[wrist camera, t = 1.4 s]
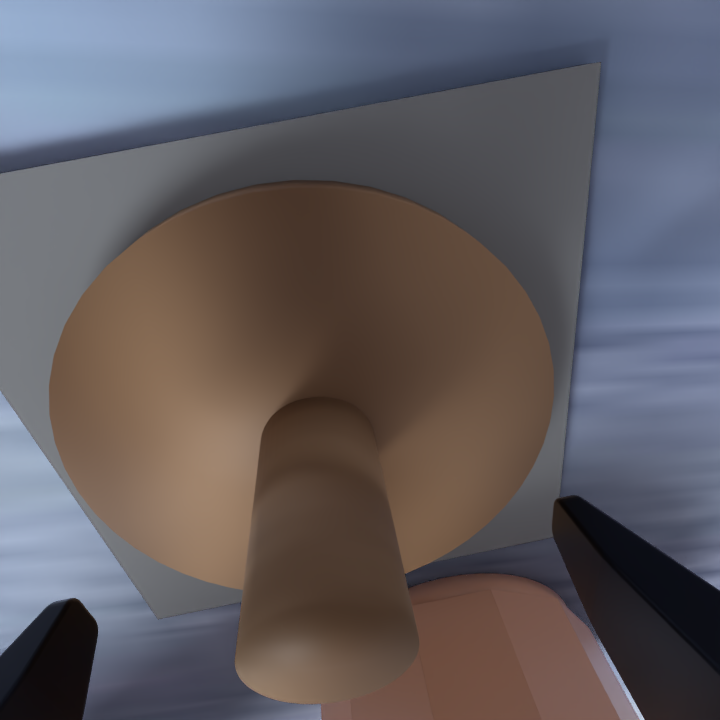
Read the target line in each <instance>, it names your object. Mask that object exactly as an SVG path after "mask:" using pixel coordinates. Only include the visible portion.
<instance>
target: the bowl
mask: <svg viewBox="0 0 720 720" xmlns="http://www.w3.org/2000/svg"><path fill="white" fill-rule="evenodd" d="M408 590H409V595H410V599H411V604H412V608H413V613H414V617H415V622H416V626H417V631H418V636H419V650H418V654H417V656H416V658H415V660H414V662H413V663H412V665H411V666H410V667H409V668H408V669H407V670H406V671H405V672H404V673H403V674H402V675H401V676H400V677H398V678H397V679H396V680H394V681H393V682H391V683H390V684H388V685H386V686H385V687H382V688H380V689H378V690H376V691H374V692H371V693H369V694H366V695H363V696H360V697H357V698H353V699H349V700H345V701H340V702H334V703H325V704H321V716H322V720H639V718H638V716H637V714H636V712H635V711H634V709H633V707H632V705H631V703H630V701H629V700H628V698H627V696H626V694H625V692H624V691H623V689H622V687H621V685H620V683H619V681H618V680H617V678H616V676H615V674H614V672H613V671H612V669H611V667H610V665H609V663H608V661H607V660H606V658H605V656H604V654H603V652H602V651H601V649H600V647H599V645H598V643H597V641H596V640H595V638H594V636H593V634H592V632H591V631H590V629H589V627H588V626H586V625H585V624H584V623H583V622H582V621H581V620H580V619H579V618H578V617H577V616H576V615H575V614H574V613H572V612H571V611H570V610H569V609H568V608H567V606H566V604H565V602H564V601H563V600H562V599H561V597H560V596H559V595H558V594H557V593H556V592H554V591H553V590H552V589H550V588H549V587H547V586H545V585H543V584H541V583H539V582H536V581H534V580H531V579H528V578H524V577H519V576H514V575H507V574H497V573H477V574H466V575H457V576H452V577H446V578H441V579H437V580H433V581H429V582H425V583H422V584H419V585H416V586H413V587H410V588H408Z"/></svg>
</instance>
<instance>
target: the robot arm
mask: <svg viewBox="0 0 720 720" xmlns="http://www.w3.org/2000/svg"><path fill="white" fill-rule="evenodd" d="M552 533H553V537H554V540H555V542H556V544H557V547H558V549H559V551H560V554H561V556H562V558H563V561H564V563H565V565H566V567H567V570H568V572H569V574H570V577H571V579H572V581H573V583H574V586H575V588H576V590H577V593H578V595H579V597H580V600H581V602H582V604H583V606H584V609H585V611H586V613H587V615H588V617H589V620H590V622H591V624H592V625H593V627H594V629H595V631H596V633H597V635H598V637H599V639H600V640H601V642H602V644H603V646H604V647H605V649H606V651H607V653H608V655H609V656H610V658H611V660H612V662H613V664H614V665H615V667H616V669H617V671H618V673H619V674H620V676H621V678H622V680H623V681H624V683H625V685H626V687H627V689H628V690H629V692H630V694H631V696H632V698H633V699H634V701H635V703H636V705H637V707H638V708H639V710H640V712H641V714H642V715H643V717H644V719H645V720H720V590H718V589H717V588H715V587H714V586H712V585H711V584H709V583H708V582H706V581H705V580H703V579H702V578H700V577H699V576H697V575H696V574H694V573H693V572H691V571H690V570H688V569H687V568H685V567H684V566H683V565H681V564H680V563H678V562H677V561H675V560H674V559H672V558H671V557H669V556H668V555H666V554H665V553H663V552H662V551H660V550H659V549H657V548H656V547H654V546H653V545H651V544H650V543H648V542H647V541H645V540H644V539H642V538H641V537H639V536H638V535H636V534H635V533H633V532H632V531H631V530H629V529H628V528H626V527H625V526H623V525H622V524H620V523H619V522H617V521H616V520H614V519H613V518H611V517H610V516H608V515H607V514H605V513H604V512H602V511H601V510H599V509H598V508H596V507H595V506H593V505H592V504H590V503H589V502H587V501H586V500H584V499H583V498H581V497H579V496H577V495H571V496H566V497H561V498H557V499H556V500H555V501H554V506H553V517H552ZM97 638H98V625H97V622H96V620H95V619H94V618H93V616H92V615H91V614H90V613H89V611H88V610H87V609H86V608H85V607H84V605H83V604H82V603H81V602H80V601H79V600H78V599H76V598H70V599H65V600H60V601H56V602H53V603H51V604H50V605H49V606H47V607H46V608H45V609H44V610H43V611H42V612H41V613H40V614H39V616H38V617H37V618H36V619H35V620H34V621H33V622H32V623H31V624H30V625H29V626H28V627H27V628H26V629H25V630H24V631H23V632H22V633H21V635H20V636H19V637H18V638H17V639H16V640H15V641H14V642H13V643H12V644H11V645H10V646H9V647H8V648H7V649H6V650H5V651H4V652H3V654H2V655H1V656H0V720H82V719H83V714H84V709H85V704H86V698H87V693H88V687H89V682H90V676H91V671H92V665H93V660H94V654H95V649H96V643H97Z"/></svg>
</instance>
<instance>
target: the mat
mask: <svg viewBox="0 0 720 720" xmlns="http://www.w3.org/2000/svg"><path fill="white" fill-rule="evenodd" d="M600 69H601V62H597V63H589V64H584V65H579V66H573V67H568V68H563V69H557V70H552V71H546V72H541V73H536V74H530V75H525V76H520V77H514V78H509V79H503V80H498V81H493V82H487V83H482V84H477V85H471V86H466V87H461V88H455V89H450V90H444V91H439V92H434V93H428V94H423V95H418V96H412V97H407V98H402V99H396V100H391V101H385V102H380V103H375V104H369V105H364V106H359V107H353V108H348V109H342V110H337V111H332V112H326V113H321V114H316V115H310V116H305V117H300V118H294V119H289V120H283V121H278V122H273V123H267V124H262V125H257V126H251V127H246V128H240V129H235V130H230V131H224V132H219V133H214V134H208V135H203V136H198V137H192V138H187V139H181V140H176V141H171V142H165V143H160V144H155V145H149V146H144V147H138V148H133V149H128V150H122V151H117V152H112V153H106V154H101V155H96V156H90V157H85V158H79V159H74V160H69V161H63V162H58V163H53V164H47V165H42V166H36V167H31V168H26V169H20V170H15V171H10V172H4V173H0V391H1V392H2V394H3V395H4V396H5V398H6V399H7V401H8V402H9V404H10V405H11V407H12V408H13V410H14V411H15V412H16V414H17V415H18V417H19V418H20V420H21V421H22V423H23V424H24V425H25V427H26V428H27V430H28V431H29V433H30V434H31V436H32V437H33V439H34V440H35V441H36V443H37V444H38V446H39V447H40V449H41V450H42V452H43V453H44V455H45V456H46V457H47V459H48V460H49V462H50V463H51V465H52V466H53V468H54V469H55V471H56V472H57V473H58V475H59V476H60V478H61V479H62V481H63V482H64V484H65V485H66V486H67V488H68V489H69V491H70V492H71V494H72V495H73V497H74V498H75V500H76V501H77V502H78V504H79V505H80V507H81V508H82V510H83V511H84V513H85V514H86V516H87V517H88V518H89V520H90V521H91V523H92V524H93V526H94V527H95V529H96V530H97V532H98V533H99V534H100V536H101V537H102V539H103V540H104V542H105V543H106V545H107V546H108V548H109V549H110V550H111V552H112V553H113V555H114V556H115V558H116V559H117V561H118V562H119V563H120V565H121V566H122V568H123V569H124V571H125V572H126V574H127V575H128V577H129V578H130V579H131V581H132V582H133V584H134V585H135V587H136V588H137V590H138V591H139V593H140V594H141V595H142V597H143V598H144V600H145V601H146V603H147V604H148V606H149V607H150V609H151V610H152V611H153V613H154V614H155V616H156V617H157V619H162V618H167V617H172V616H177V615H182V614H186V613H191V612H196V611H201V610H206V609H210V608H215V607H220V606H225V605H230V604H235V603H239V602H242V594H243V590H240V589H234V588H229V587H225V586H221V585H218V584H214V583H210V582H206V581H203V580H200V579H197V578H195V577H192V576H189V575H186V574H183V573H181V572H179V571H176V570H174V569H172V568H170V567H168V566H166V565H164V564H161V563H159V562H157V561H156V560H154V559H152V558H151V557H149V556H147V555H146V554H144V553H142V552H141V551H139V550H137V549H136V548H134V547H133V546H132V545H130V544H129V543H128V542H126V541H125V540H124V539H122V538H121V537H120V536H118V535H117V534H116V533H115V532H113V531H112V530H111V529H110V528H109V527H108V526H107V525H106V524H105V523H104V522H103V521H102V520H101V519H100V518H99V517H98V516H97V515H96V514H95V513H94V512H93V510H92V509H91V508H90V507H89V505H88V504H87V503H86V501H85V500H84V499H83V498H82V496H81V495H80V494H79V492H78V491H77V489H76V487H75V486H74V484H73V482H72V480H71V479H70V477H69V475H68V473H67V472H66V470H65V468H64V465H63V463H62V460H61V457H60V455H59V452H58V449H57V447H56V444H55V441H54V436H53V430H52V425H51V420H50V415H49V381H50V375H51V369H52V363H53V357H54V353H55V351H56V348H57V345H58V342H59V339H60V337H61V334H62V331H63V328H64V326H65V324H66V322H67V320H68V318H69V317H70V315H71V313H72V311H73V310H74V308H75V306H76V305H77V303H78V301H79V299H80V298H81V296H82V294H83V293H84V292H85V291H86V290H87V288H88V287H89V286H90V285H91V284H92V283H93V281H94V280H95V279H96V278H97V277H98V275H99V274H100V273H101V272H102V271H103V269H104V268H105V267H106V266H107V265H108V264H110V263H111V262H112V261H113V260H114V259H115V258H117V257H118V256H119V255H120V254H121V253H122V252H124V251H125V250H126V249H127V248H128V247H129V246H131V245H132V244H133V243H134V242H135V241H137V240H138V239H139V238H140V237H141V236H142V235H144V234H145V233H146V232H147V231H148V230H150V229H151V228H153V227H154V226H156V225H158V224H159V223H161V222H163V221H164V220H166V219H167V218H169V217H171V216H172V215H174V214H175V213H177V212H179V211H180V210H182V209H185V208H187V207H189V206H192V205H194V204H196V203H199V202H201V201H203V200H206V199H208V198H210V197H213V196H215V195H218V194H221V193H225V192H229V191H233V190H236V189H240V188H244V187H248V186H251V185H256V184H264V183H273V182H281V181H289V180H321V181H338V182H344V183H350V184H356V185H363V186H369V187H373V188H376V189H380V190H383V191H386V192H389V193H393V194H396V195H399V196H402V197H405V198H408V199H410V200H412V201H414V202H416V203H418V204H420V205H423V206H425V207H427V208H429V209H431V210H433V211H435V212H437V213H439V214H440V215H442V216H443V217H445V218H446V219H448V220H449V221H451V222H452V223H454V224H455V225H457V226H458V227H460V228H461V229H463V230H464V231H466V232H467V233H468V234H470V235H471V236H472V237H473V238H475V239H476V240H477V241H479V242H480V243H481V244H482V245H483V246H484V247H485V248H487V249H488V250H489V251H490V252H491V253H492V254H493V255H494V256H495V257H496V258H497V259H499V260H500V261H501V262H502V263H503V264H504V265H505V266H506V267H507V268H508V270H509V271H510V272H511V273H512V275H513V276H514V277H515V278H516V280H517V281H518V282H519V284H520V285H521V286H522V287H523V289H524V290H525V291H526V293H527V295H528V297H529V298H530V300H531V302H532V304H533V306H534V308H535V309H536V311H537V313H538V315H539V317H540V319H541V322H542V325H543V328H544V331H545V333H546V336H547V339H548V342H549V346H550V352H551V358H552V363H553V369H554V399H553V406H552V413H551V420H550V424H549V427H548V430H547V434H546V437H545V440H544V444H543V446H542V448H541V451H540V453H539V455H538V457H537V459H536V462H535V464H534V466H533V468H532V469H531V471H530V473H529V474H528V476H527V477H526V479H525V481H524V482H523V484H522V486H521V487H520V488H519V490H518V491H517V492H516V493H515V495H514V496H513V497H512V499H511V500H510V501H509V502H508V504H507V505H506V506H505V507H504V508H503V509H502V510H501V511H500V512H499V513H498V514H497V515H496V516H495V517H494V518H493V519H492V520H491V521H490V522H489V523H488V524H487V525H486V526H484V527H483V528H482V529H481V530H480V531H478V532H477V533H476V534H475V535H473V536H472V537H471V538H470V539H468V540H467V541H465V542H464V543H462V544H461V545H459V546H458V547H456V548H455V549H453V550H452V551H450V552H449V553H447V554H445V555H443V556H442V557H440V558H438V559H436V560H434V561H432V562H437V561H442V560H446V559H451V558H456V557H461V556H466V555H471V554H475V553H480V552H485V551H490V550H495V549H499V548H504V547H509V546H514V545H519V544H523V543H528V542H533V541H538V540H543V539H548V538H552V537H553V533H552V517H553V506H554V501H555V500H556V499H557V498H560V487H561V477H562V467H563V456H564V446H565V435H566V425H567V414H568V404H569V393H570V383H571V372H572V362H573V351H574V341H575V330H576V320H577V309H578V299H579V289H580V278H581V268H582V257H583V247H584V236H585V226H586V215H587V205H588V194H589V184H590V173H591V163H592V152H593V142H594V132H595V121H596V111H597V100H598V90H599V79H600ZM432 562H431V563H432Z"/></svg>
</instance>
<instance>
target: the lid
mask: <svg viewBox="0 0 720 720" xmlns="http://www.w3.org/2000/svg"><path fill="white" fill-rule="evenodd" d="M553 399H554V369H553V363H552V358H551V352H550V346H549V342H548V339H547V336H546V333H545V331H544V328H543V325H542V322H541V319H540V317H539V315H538V313H537V311H536V309H535V308H534V306H533V304H532V302H531V300H530V298H529V297H528V295H527V293H526V291H525V290H524V289H523V287H522V286H521V285H520V284H519V282H518V281H517V280H516V278H515V277H514V276H513V275H512V273H511V272H510V271H509V270H508V268H507V267H506V266H505V265H504V264H503V263H502V262H501V261H500V260H499V259H497V258H496V257H495V256H494V255H493V254H492V253H491V252H490V251H489V250H488V249H487V248H485V247H484V246H483V245H482V244H481V243H480V242H479V241H477V240H476V239H475V238H473V237H472V236H471V235H470V234H468V233H467V232H466V231H464V230H463V229H461V228H460V227H458V226H457V225H455V224H454V223H452V222H451V221H449V220H448V219H446V218H445V217H443V216H442V215H440V214H439V213H437V212H435V211H433V210H431V209H429V208H427V207H425V206H423V205H420V204H418V203H416V202H414V201H412V200H410V199H408V198H405V197H402V196H399V195H396V194H393V193H389V192H386V191H383V190H380V189H376V188H373V187H369V186H363V185H356V184H350V183H344V182H338V181H321V180H289V181H281V182H273V183H264V184H256V185H251V186H248V187H244V188H240V189H236V190H233V191H229V192H225V193H221V194H218V195H215V196H213V197H210V198H208V199H206V200H203V201H201V202H199V203H196V204H194V205H192V206H189V207H187V208H185V209H182V210H180V211H179V212H177V213H175V214H174V215H172V216H171V217H169V218H167V219H166V220H164V221H163V222H161V223H159V224H158V225H156V226H154V227H153V228H151V229H150V230H148V231H147V232H146V233H145V234H144V235H142V236H141V237H140V238H139V239H138V240H137V241H135V242H134V243H133V244H132V245H131V246H129V247H128V248H127V249H126V250H125V251H124V252H122V253H121V254H120V255H119V256H118V257H117V258H115V259H114V260H113V261H112V262H111V263H110V264H108V265H107V266H106V267H105V268H104V269H103V271H102V272H101V273H100V274H99V275H98V277H97V278H96V279H95V280H94V281H93V283H92V284H91V285H90V286H89V287H88V288H87V290H86V291H85V292H84V293H83V294H82V296H81V298H80V299H79V301H78V303H77V305H76V306H75V308H74V310H73V311H72V313H71V315H70V317H69V318H68V320H67V322H66V324H65V326H64V328H63V331H62V334H61V337H60V339H59V342H58V345H57V348H56V351H55V353H54V357H53V363H52V369H51V375H50V381H49V415H50V420H51V425H52V430H53V436H54V441H55V444H56V447H57V449H58V452H59V455H60V457H61V460H62V463H63V465H64V468H65V470H66V472H67V473H68V475H69V477H70V479H71V480H72V482H73V484H74V486H75V487H76V489H77V491H78V492H79V494H80V495H81V496H82V498H83V499H84V500H85V501H86V503H87V504H88V505H89V507H90V508H91V509H92V510H93V512H94V513H95V514H96V515H97V516H98V517H99V518H100V519H101V520H102V521H103V522H104V523H105V524H106V525H107V526H108V527H109V528H110V529H111V530H112V531H113V532H115V533H116V534H117V535H118V536H120V537H121V538H122V539H124V540H125V541H126V542H128V543H129V544H130V545H132V546H133V547H134V548H136V549H137V550H139V551H141V552H142V553H144V554H146V555H147V556H149V557H151V558H152V559H154V560H156V561H157V562H159V563H161V564H164V565H166V566H168V567H170V568H172V569H174V570H176V571H179V572H181V573H183V574H186V575H189V576H192V577H195V578H197V579H200V580H203V581H206V582H210V583H214V584H218V585H221V586H225V587H229V588H234V589H240V590H243V594H242V602H241V611H240V619H239V627H238V636H237V644H236V653H235V668H236V672H237V674H238V676H239V677H240V679H241V680H242V681H243V683H245V684H246V685H247V686H248V687H249V688H250V689H252V690H253V691H255V692H257V693H259V694H261V695H263V696H265V697H268V698H271V699H274V700H278V701H283V702H289V703H297V704H325V703H334V702H340V701H345V700H349V699H353V698H357V697H360V696H363V695H366V694H369V693H371V692H374V691H376V690H378V689H380V688H382V687H385V686H386V685H388V684H390V683H391V682H393V681H394V680H396V679H397V678H398V677H400V676H401V675H402V674H403V673H404V672H405V671H406V670H407V669H408V668H409V667H410V666H411V665H412V663H413V662H414V660H415V658H416V656H417V654H418V650H419V636H418V631H417V626H416V622H415V617H414V613H413V608H412V604H411V599H410V595H409V590H408V586H407V581H406V577H405V574H406V573H408V572H411V571H413V570H415V569H417V568H420V567H422V566H424V565H427V564H429V563H431V562H432V561H434V560H436V559H438V558H440V557H442V556H443V555H445V554H447V553H449V552H450V551H452V550H453V549H455V548H456V547H458V546H459V545H461V544H462V543H464V542H465V541H467V540H468V539H470V538H471V537H472V536H473V535H475V534H476V533H477V532H478V531H480V530H481V529H482V528H483V527H484V526H486V525H487V524H488V523H489V522H490V521H491V520H492V519H493V518H494V517H495V516H496V515H497V514H498V513H499V512H500V511H501V510H502V509H503V508H504V507H505V506H506V505H507V504H508V502H509V501H510V500H511V499H512V497H513V496H514V495H515V493H516V492H517V491H518V490H519V488H520V487H521V486H522V484H523V482H524V481H525V479H526V477H527V476H528V474H529V473H530V471H531V469H532V468H533V466H534V464H535V462H536V459H537V457H538V455H539V453H540V451H541V448H542V446H543V444H544V440H545V437H546V434H547V430H548V427H549V424H550V420H551V413H552V406H553Z"/></svg>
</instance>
